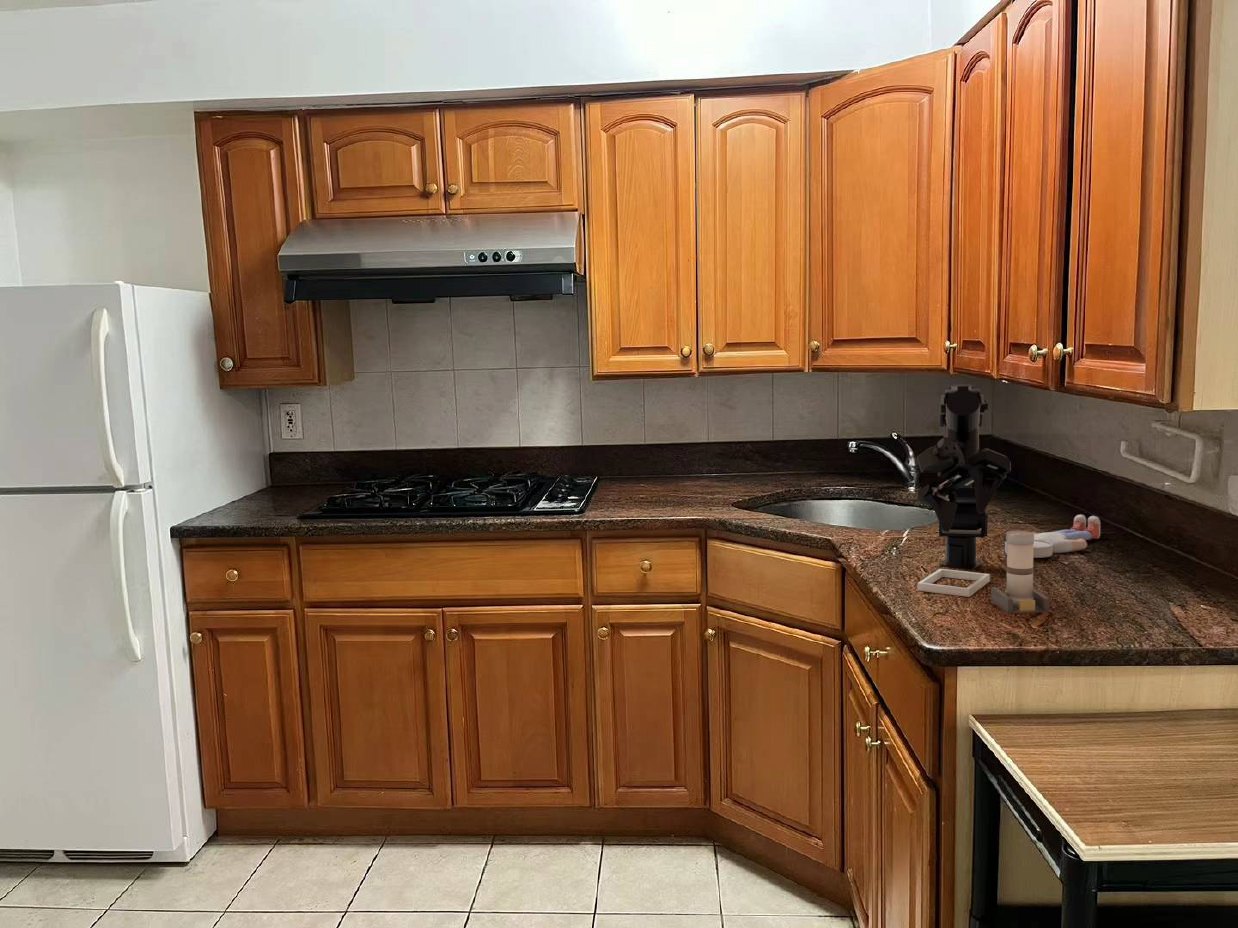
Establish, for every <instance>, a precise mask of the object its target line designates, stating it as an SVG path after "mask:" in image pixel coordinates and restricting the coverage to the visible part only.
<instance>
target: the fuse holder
mask: <svg viewBox="0 0 1238 928" xmlns="http://www.w3.org/2000/svg"><path fill="white" fill-rule="evenodd" d="M990 590H991V592H990V595H991V596H990V597H988V598H989V600H991V601H992V602H993V603H994V604H996V605H997V606H998V607H999V608H1000V609H1002V610H1004V612H1006V613H1007V614H1012V613H1013V614H1017V613H1020V614H1021V613H1022V614H1023V613H1025V614H1026V613H1052V612H1053V611H1052V610H1051V609H1050V600H1051V599H1050V598H1049V596H1046V594H1044V593H1042V592H1040V591H1039V590H1037V589H1036V588H1035V587H1033V600H1019V608H1016V607H1013V599H1011V598H1010V597H1009V596H1007V595H1006V594H1007V589H1004V592H1003V590H1001V589H999V588H998V587H997V586H991V588H990Z"/></svg>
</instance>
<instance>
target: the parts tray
mask: <svg viewBox="0 0 1238 928" xmlns="http://www.w3.org/2000/svg"><path fill="white" fill-rule="evenodd" d="M941 578H949V579H950V578H951V579H959V580H967V581H974V582H972V583H971V584H970V585H969V586H967V587H961V586H952V585H945V584H944V585H943V584H936V583H935V582H936V581H938V580H940V579H941ZM990 579H991V575H990V573H983V572H982V573H981V572H973V571H964V570H957V569H955V570H954V569H947V568H939V569H937V570H935V571H934V572H933V573H931V574H929V575H927V576H926V577H924V579H922V580H920V581H918V582H917V585H916V586H917V591H919V592H927V593H934V594H941V595H942V594H944V595H951V596H960V597H967V598H968V597H969V598H970V597H971V596H972V595H973V594H975V593H977V591H979V590H980V589H982V588H983V587H984V586H985V585H987V584H988V583H990Z"/></svg>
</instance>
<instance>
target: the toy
mask: <svg viewBox="0 0 1238 928" xmlns="http://www.w3.org/2000/svg"><path fill="white" fill-rule="evenodd" d="M1031 532H1032V531H1031ZM1032 533H1034V544H1033V559H1034V558H1038V559H1039V558H1048V557H1051V556H1053V554H1063V553H1070V552H1077V551H1080V550H1084V549H1086V548H1087V547H1088V542H1087V541H1091V540H1096V539H1099V538H1100V536H1101V520H1100V518H1099V517H1098V516H1095V515H1091V516H1089V517H1088V518H1087V517H1086V516H1085V515H1084V514H1077V515H1075V517H1074V518H1073V525H1072V527H1070V529H1060V530H1056V531H1051V532H1050V531H1049V532H1041V533H1038V532H1032ZM1004 552H1005V554H1007V542H1006V540H1005V542H1004Z"/></svg>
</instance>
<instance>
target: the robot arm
mask: <svg viewBox="0 0 1238 928" xmlns="http://www.w3.org/2000/svg"><path fill="white" fill-rule="evenodd" d="M940 397H941V398H940V402H939V403H940V405H939V406H940V408H939V409H940V415H939V417H940V420H939V421H940V422H939V423H940V424H939V427H940V429H941V428H943V437H942V438H941V439H940V440H938V442H937V444H934V445H933V446H932V447H929V448H927V449H925V450H924V451H922V452H921V453H920V454H918V455H917V456H916V458H917V462H918V467H919V470H920V473H922V474H927V473H931V474H933V473H935V474H937V477H938V478H940V479H946V480H945V481H943V482H942V483H939V482H936V481H932V482H930V483H928V484H927V485H925V486H923V487H922V488H920V489H919V490H918V491H917V502H919V503H921V504H924V505H926V506H928V507H929V506H930V507H931V508H932V509H933V511H934V513H935V515H936V517H937V521H938V538H942V537H945V560H944V561H942V562H941V563H940V564H939V567H940V568H941V567H942V568H950V569H961V570H968V571H973V570H975V569H976V568H978V567H979V566H982V564H983V561H982V560H977V538H981V539H983V538H985V537H988V521H989V520H988V518H989V514H988V513H987V512H986V509H987V507H988V506H989V503H990V502H991V500H992V498H993V496H994V495H995V494H996V491H997V490H998V488H999V487H1000V486H1001V483H1002V482H1003V480H1005V479H1006V477H1007V475H1008V474H1009V473H1010V472H1012V464H1011V460H1010V459H1009V457H1008V456H1006V455H1004V454H1001V453H999V452H996V451H994V450H991V449H989V448H987V447H985V448H983V449H982V450H981V449H980V438H979V436H980V431H979V430H980V428H982V426H983V425H982V423H983V414H985V412H986V411H988V409H989V403H988V400H987V399H986V398H985V395H984V394H981V390H980V389H979V388H975V386H974V385H972V384H971V383H969V384H951V385H948V389H945V391H944V394H943V395H942V394H941V396H940ZM972 484H973V485H974V486H973V485H972Z"/></svg>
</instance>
